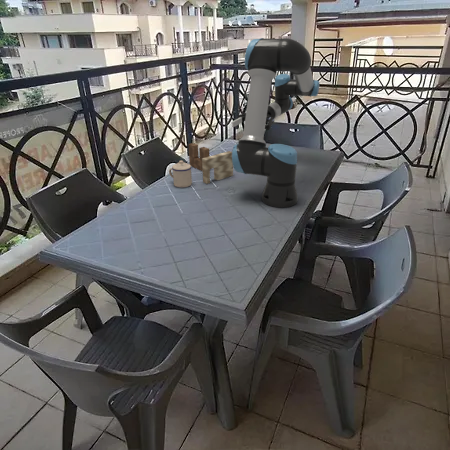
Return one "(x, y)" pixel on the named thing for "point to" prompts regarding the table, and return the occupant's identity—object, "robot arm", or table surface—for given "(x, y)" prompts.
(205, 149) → the brown wooden u block
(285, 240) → the table surface
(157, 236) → the table surface
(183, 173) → the teacup with lid
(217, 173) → the birch board
